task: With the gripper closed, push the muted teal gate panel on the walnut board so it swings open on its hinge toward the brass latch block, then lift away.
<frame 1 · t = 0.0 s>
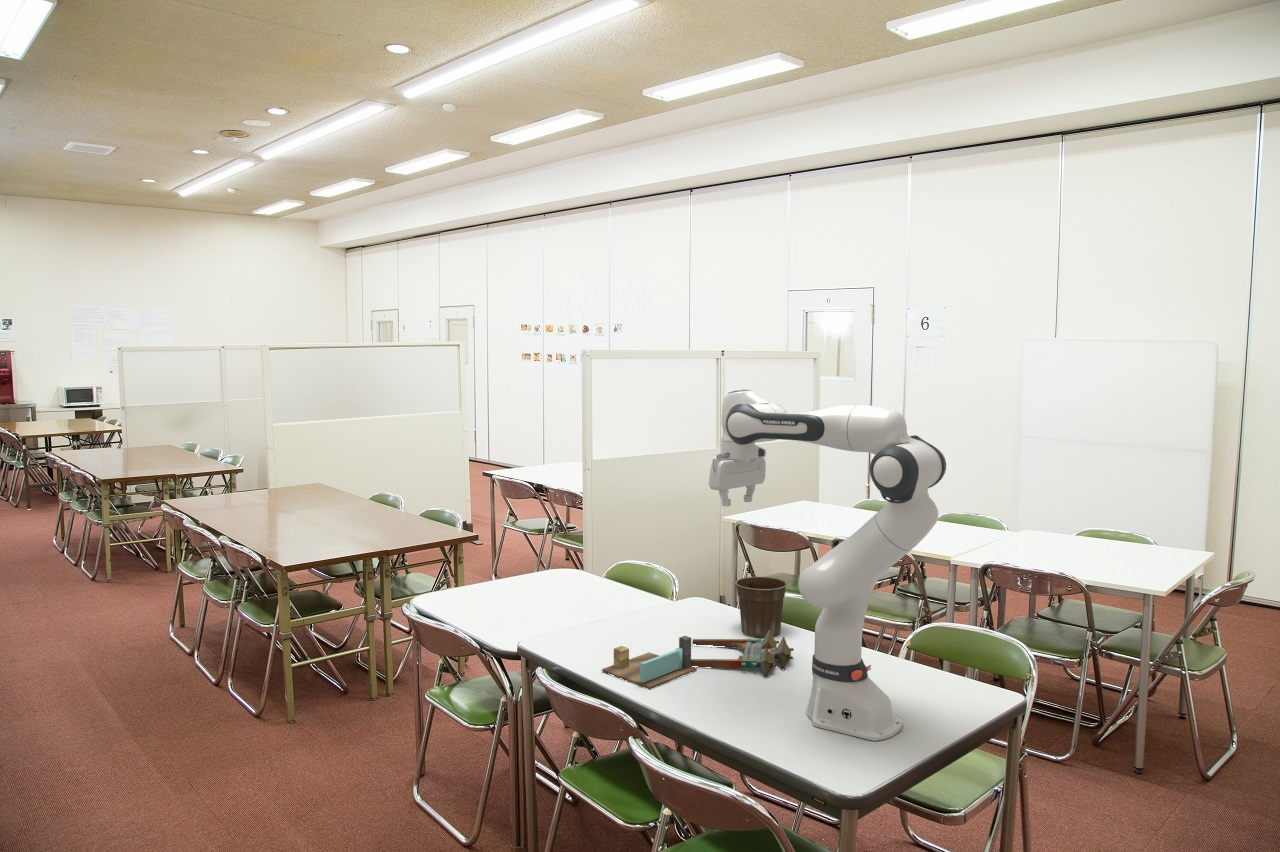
hand: (737, 503, 219), 48 cm above the table, fingers open, 8 cm apart
gate frame: (679, 671, 230), on the table
miniature gate: (740, 661, 240), on the table
plant pot: (760, 633, 264), on the table
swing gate: (662, 665, 224), point 4 cm above the table, hinge at 0.0°
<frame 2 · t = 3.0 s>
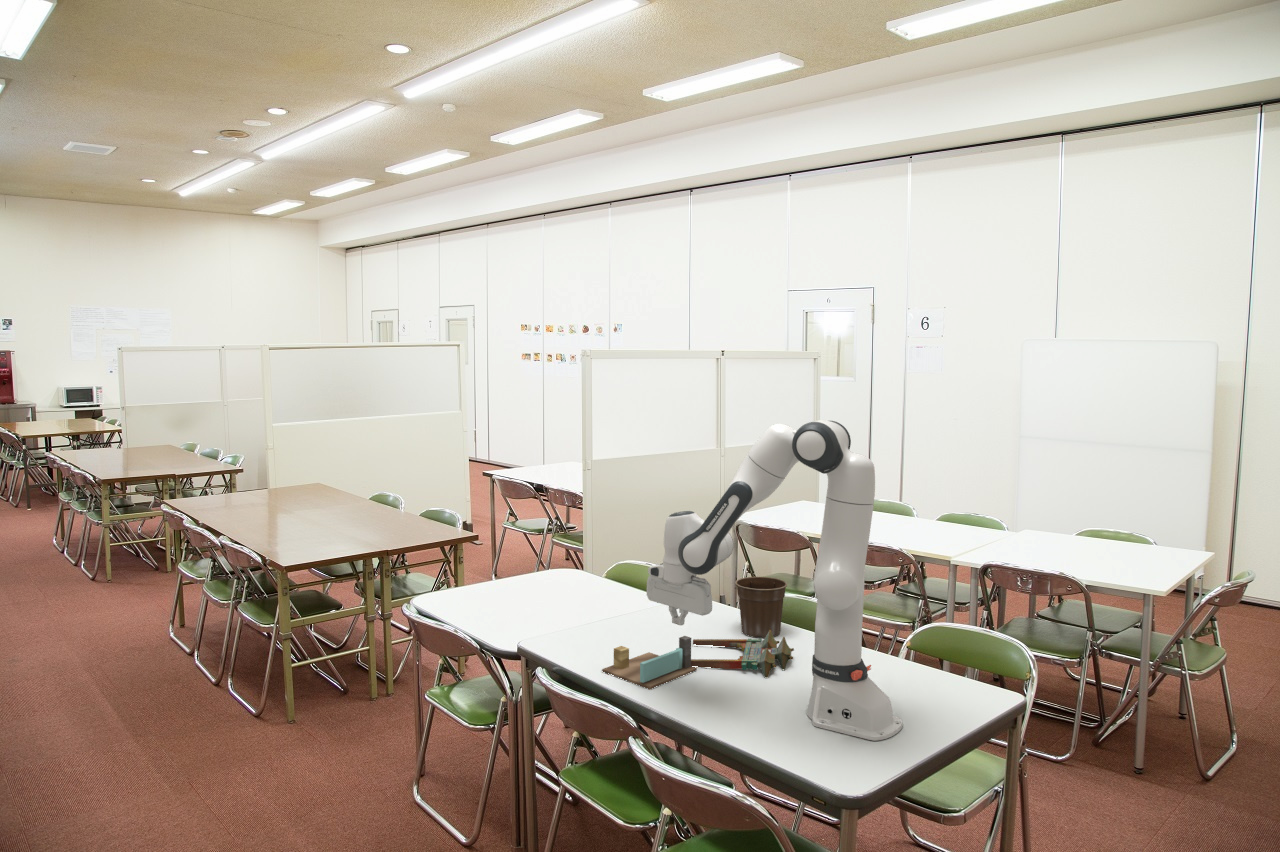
hand: (678, 623, 220), 16 cm above the table, fingers closed
nothing on the table moved.
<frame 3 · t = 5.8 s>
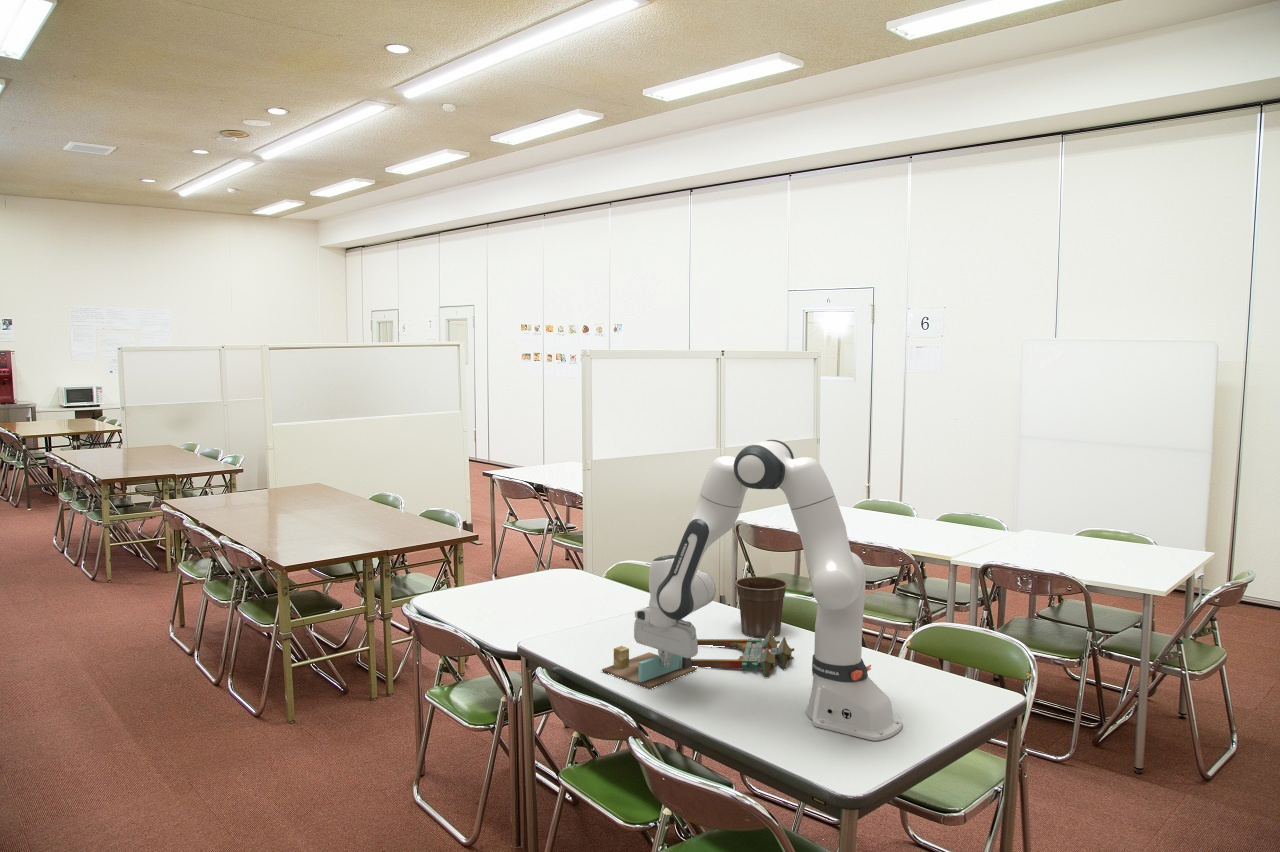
hand: (665, 666, 223), 4 cm above the table, fingers closed, pressing on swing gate
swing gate: (661, 664, 225), point 4 cm above the table, hinge at 2.5°, touching gripper
everything else where it was.
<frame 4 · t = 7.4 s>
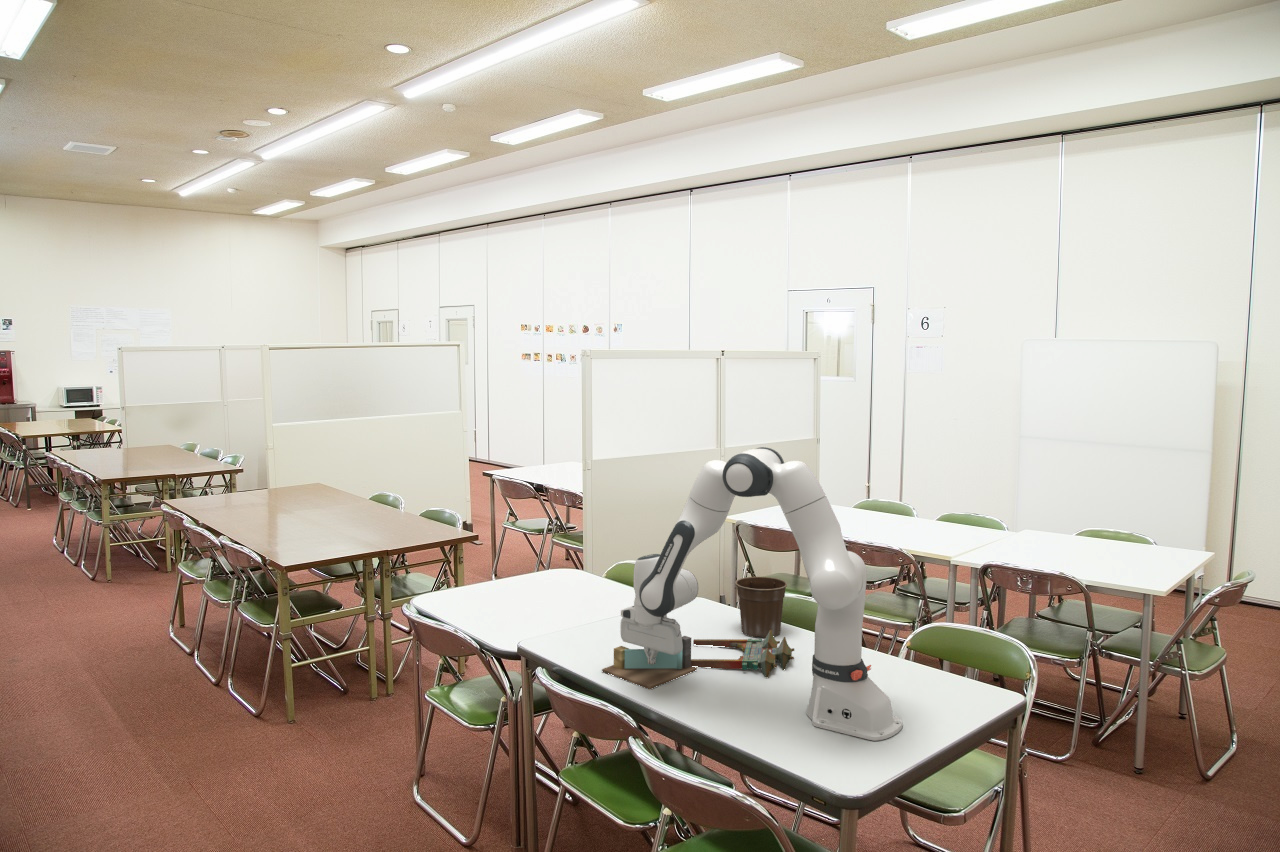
hand: (651, 663, 227), 3 cm above the table, fingers closed
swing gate: (653, 658, 229), point 4 cm above the table, hinge at 44.9°, touching gate frame, gripper
everything else where it was.
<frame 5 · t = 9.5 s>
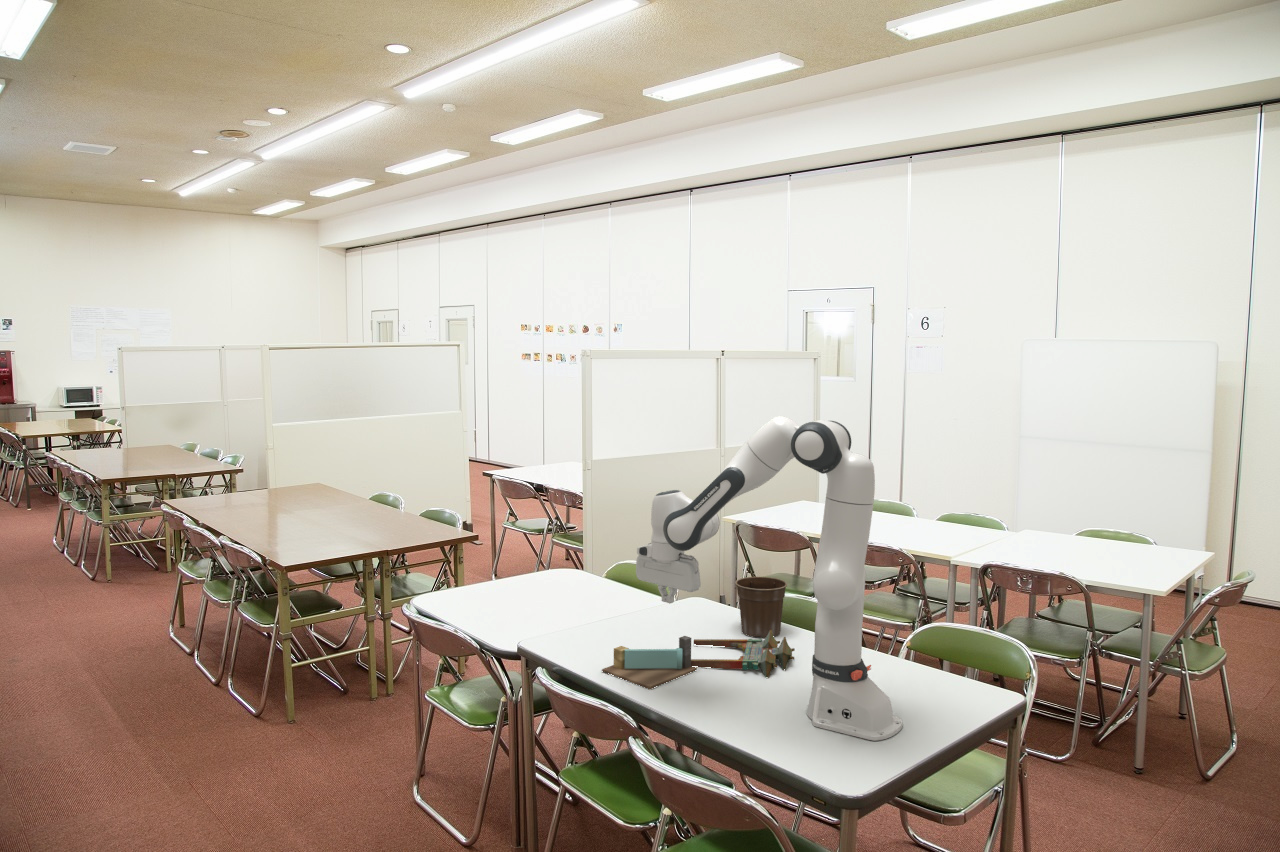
hand: (667, 602, 222), 21 cm above the table, fingers closed
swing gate: (653, 658, 229), point 4 cm above the table, hinge at 44.9°, touching gate frame
everything else where it was.
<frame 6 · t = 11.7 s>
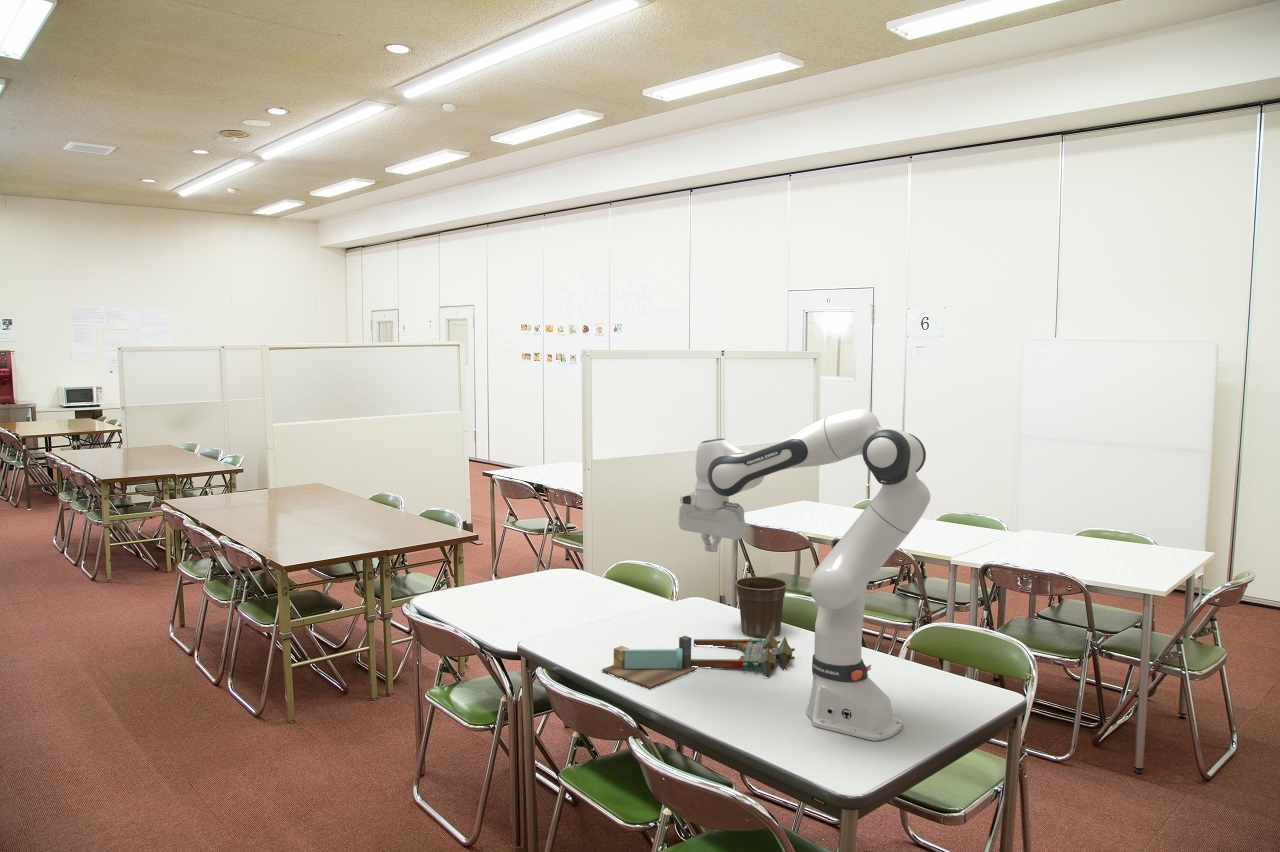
hand: (711, 551, 221), 35 cm above the table, fingers closed
nothing on the table moved.
at the end: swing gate at +45° (first picture: +0°); miniature gate moved 0.8 cm from its start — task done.
